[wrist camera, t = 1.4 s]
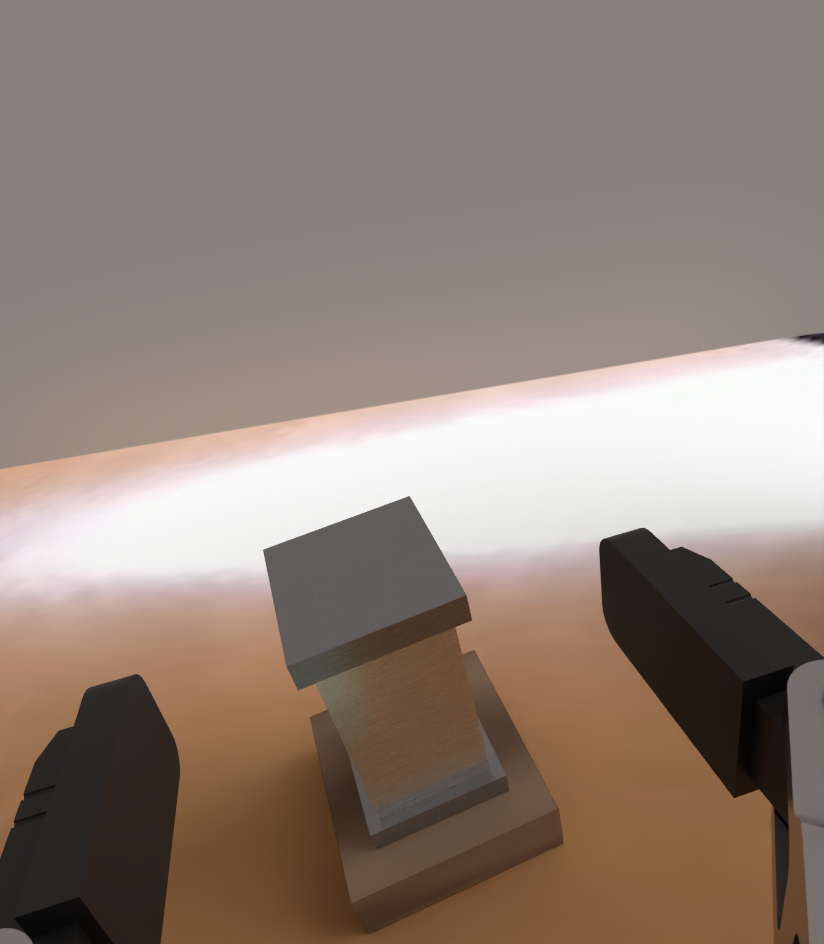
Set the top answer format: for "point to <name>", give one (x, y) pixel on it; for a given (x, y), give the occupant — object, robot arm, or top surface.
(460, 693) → the grey square pedestal
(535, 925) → the top surface
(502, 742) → the walnut stand
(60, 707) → the top surface
